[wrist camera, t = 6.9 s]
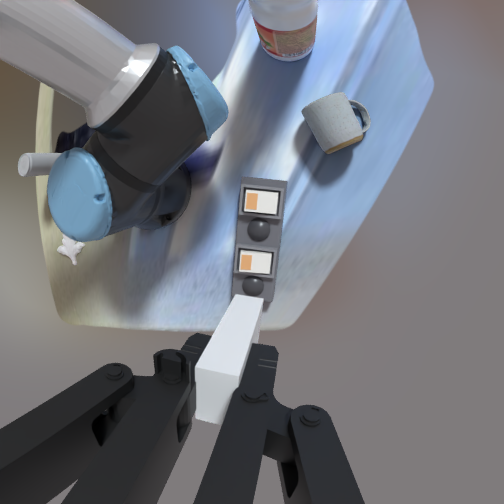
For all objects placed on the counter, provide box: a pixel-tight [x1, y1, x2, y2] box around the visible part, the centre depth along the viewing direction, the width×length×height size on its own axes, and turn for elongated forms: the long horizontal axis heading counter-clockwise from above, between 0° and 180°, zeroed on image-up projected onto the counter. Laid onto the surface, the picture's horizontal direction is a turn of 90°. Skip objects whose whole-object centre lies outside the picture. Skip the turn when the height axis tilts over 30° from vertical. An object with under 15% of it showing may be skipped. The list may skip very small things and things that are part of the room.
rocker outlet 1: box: [244, 190, 278, 214], centre depth 43 cm, size 5×3×1 cm
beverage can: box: [18, 153, 62, 177], centre depth 46 cm, size 5×5×12 cm
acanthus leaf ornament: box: [57, 234, 85, 265], centre depth 56 cm, size 8×7×2 cm
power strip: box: [232, 177, 287, 302], centre depth 47 cm, size 7×20×5 cm, turn 174°
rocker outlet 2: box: [239, 250, 272, 274], centre depth 45 cm, size 5×3×1 cm
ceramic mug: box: [302, 92, 371, 154], centre depth 39 cm, size 11×8×8 cm
